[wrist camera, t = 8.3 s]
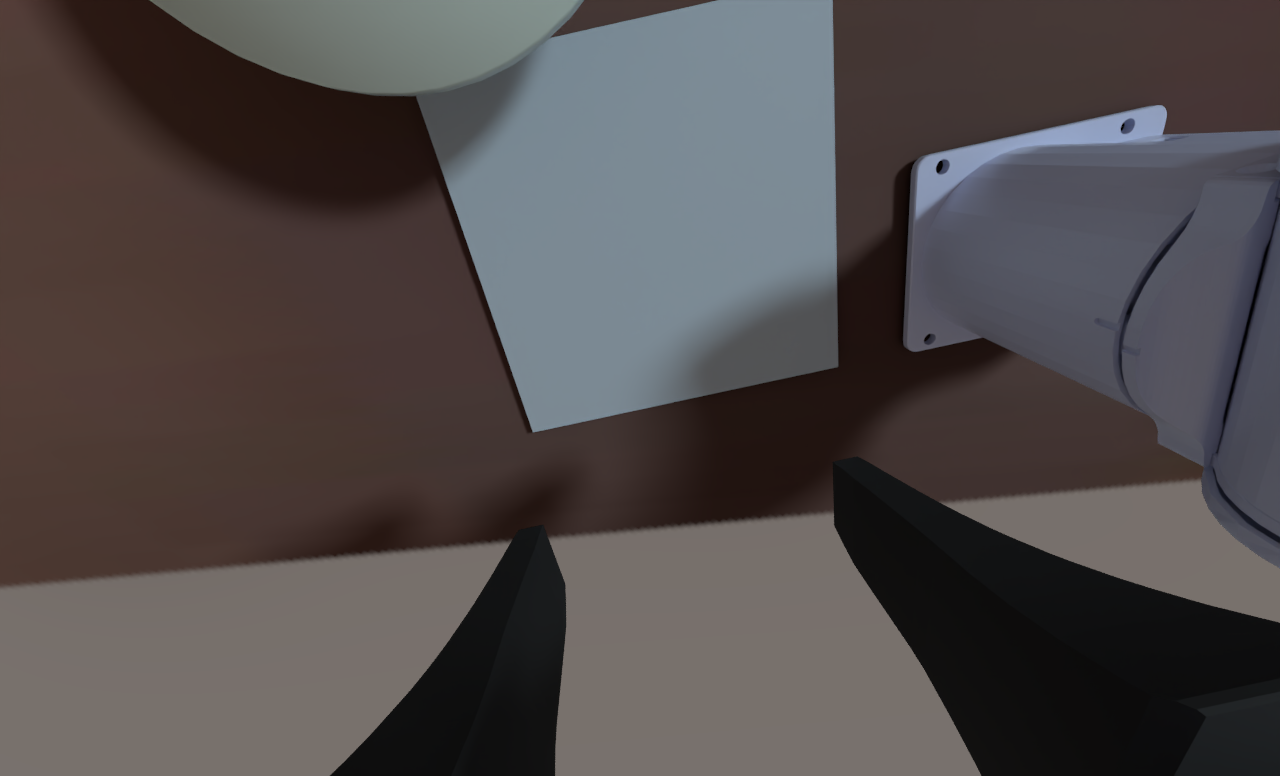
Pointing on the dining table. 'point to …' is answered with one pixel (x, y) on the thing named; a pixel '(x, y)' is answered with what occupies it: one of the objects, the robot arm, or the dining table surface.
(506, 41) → the lid
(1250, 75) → the dining table surface
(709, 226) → the mat
